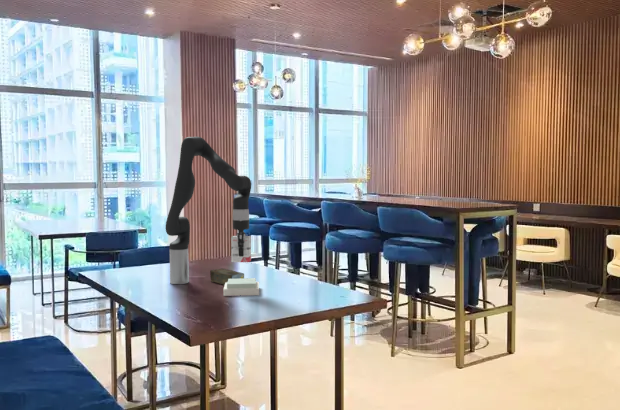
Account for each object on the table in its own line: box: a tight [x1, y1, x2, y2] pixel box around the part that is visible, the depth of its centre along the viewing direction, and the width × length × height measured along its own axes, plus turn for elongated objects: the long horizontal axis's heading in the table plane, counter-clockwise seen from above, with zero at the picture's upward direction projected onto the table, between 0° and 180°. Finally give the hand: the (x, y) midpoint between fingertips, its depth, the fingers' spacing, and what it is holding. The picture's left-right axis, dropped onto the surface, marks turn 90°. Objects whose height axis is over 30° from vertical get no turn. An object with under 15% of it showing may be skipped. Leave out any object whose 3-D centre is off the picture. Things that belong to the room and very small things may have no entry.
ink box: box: [230, 235, 252, 263], centre depth 259 cm, size 9×5×12 cm, turn 84°
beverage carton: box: [209, 268, 245, 286], centre depth 281 cm, size 8×19×7 cm, turn 44°
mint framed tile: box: [222, 277, 260, 297], centre depth 260 cm, size 16×16×5 cm
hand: (241, 255), depth 260 cm, fingers closed on ink box, 5 cm apart
